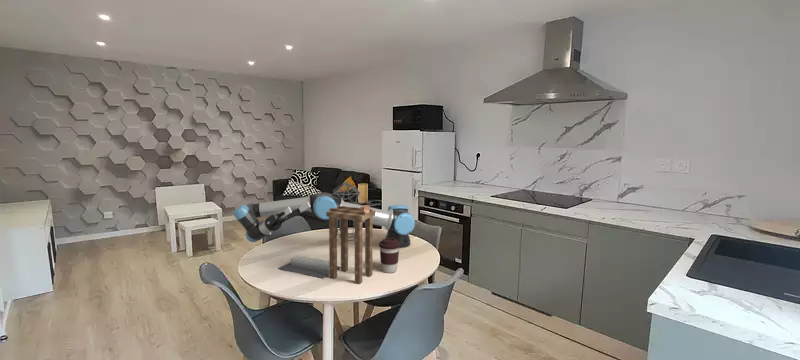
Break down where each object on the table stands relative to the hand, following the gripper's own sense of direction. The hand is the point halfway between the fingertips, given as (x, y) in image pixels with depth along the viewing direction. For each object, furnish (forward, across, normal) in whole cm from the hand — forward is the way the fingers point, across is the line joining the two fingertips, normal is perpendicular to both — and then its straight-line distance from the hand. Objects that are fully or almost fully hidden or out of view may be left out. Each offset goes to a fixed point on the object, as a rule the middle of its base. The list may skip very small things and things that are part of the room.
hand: (300, 206), depth 177 cm
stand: (+9, 0, -40) cm, 41 cm away
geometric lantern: (-20, -49, -23) cm, 58 cm away
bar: (-9, 0, -28) cm, 30 cm away
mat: (-10, 0, -28) cm, 30 cm away
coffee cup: (+20, -14, -46) cm, 52 cm away
